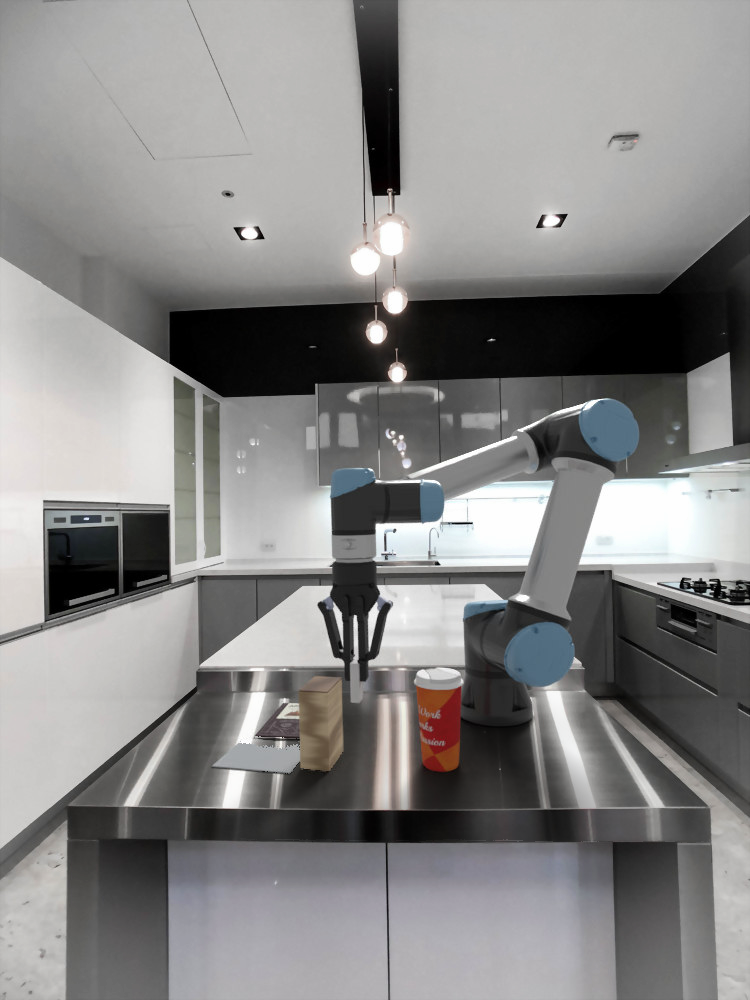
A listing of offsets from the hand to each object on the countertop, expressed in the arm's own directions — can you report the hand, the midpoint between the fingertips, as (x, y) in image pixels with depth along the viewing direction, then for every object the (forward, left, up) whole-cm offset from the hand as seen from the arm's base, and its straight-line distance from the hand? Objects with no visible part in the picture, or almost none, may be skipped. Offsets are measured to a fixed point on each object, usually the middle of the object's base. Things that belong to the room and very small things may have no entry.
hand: (357, 700), depth 97 cm
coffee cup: (-14, -2, -11) cm, 18 cm away
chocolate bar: (+18, -16, -11) cm, 27 cm away
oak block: (+6, 0, -11) cm, 12 cm away
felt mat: (+17, 0, -11) cm, 20 cm away
